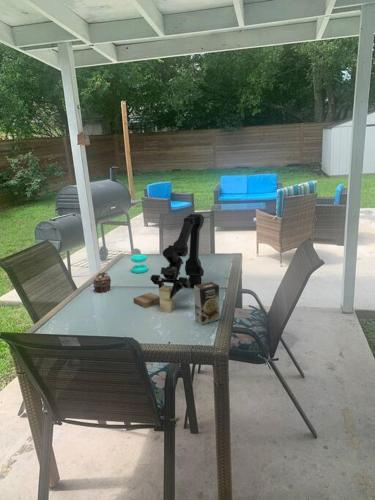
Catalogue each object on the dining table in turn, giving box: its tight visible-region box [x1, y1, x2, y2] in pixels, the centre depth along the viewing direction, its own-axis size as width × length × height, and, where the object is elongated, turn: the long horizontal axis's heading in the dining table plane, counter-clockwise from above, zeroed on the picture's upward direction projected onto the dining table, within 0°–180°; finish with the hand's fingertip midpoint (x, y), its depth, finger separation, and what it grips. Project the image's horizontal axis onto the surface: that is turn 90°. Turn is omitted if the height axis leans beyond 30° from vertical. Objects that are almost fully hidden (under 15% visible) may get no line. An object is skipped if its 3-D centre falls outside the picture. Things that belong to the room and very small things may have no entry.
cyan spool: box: [130, 253, 149, 274], centre depth 244 cm, size 10×10×10 cm
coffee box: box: [193, 281, 221, 325], centre depth 168 cm, size 9×6×16 cm
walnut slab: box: [132, 292, 160, 309], centre depth 193 cm, size 10×10×3 cm
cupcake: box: [92, 271, 112, 294], centre depth 213 cm, size 10×10×10 cm
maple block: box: [158, 284, 175, 313], centre depth 182 cm, size 5×5×11 cm
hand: (165, 297), depth 181 cm, fingers open, 5 cm apart
